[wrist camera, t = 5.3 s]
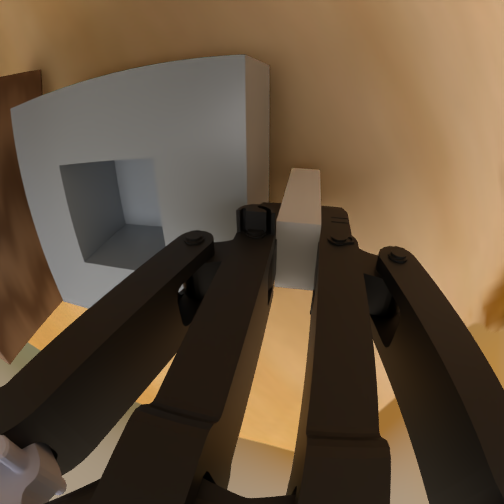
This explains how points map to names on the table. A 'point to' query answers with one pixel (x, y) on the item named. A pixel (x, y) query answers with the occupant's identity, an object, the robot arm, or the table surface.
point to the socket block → (141, 164)
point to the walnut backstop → (19, 234)
